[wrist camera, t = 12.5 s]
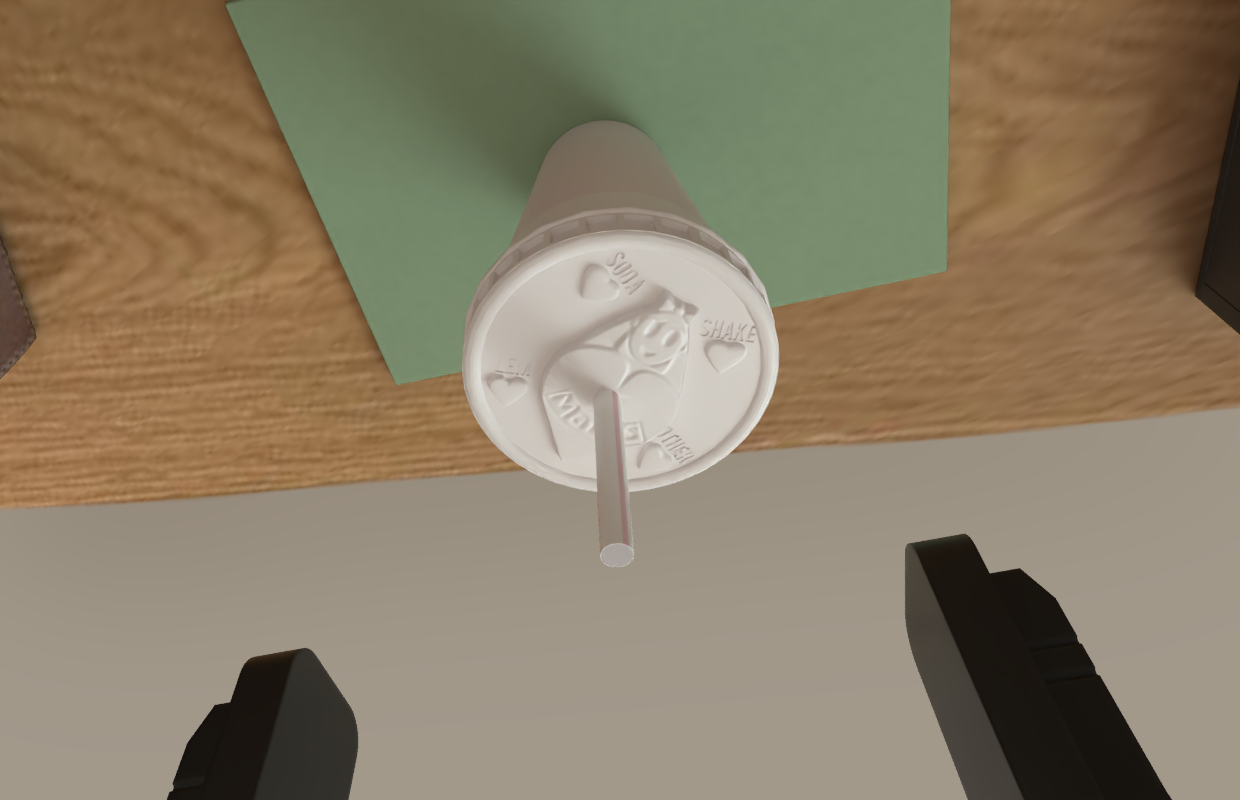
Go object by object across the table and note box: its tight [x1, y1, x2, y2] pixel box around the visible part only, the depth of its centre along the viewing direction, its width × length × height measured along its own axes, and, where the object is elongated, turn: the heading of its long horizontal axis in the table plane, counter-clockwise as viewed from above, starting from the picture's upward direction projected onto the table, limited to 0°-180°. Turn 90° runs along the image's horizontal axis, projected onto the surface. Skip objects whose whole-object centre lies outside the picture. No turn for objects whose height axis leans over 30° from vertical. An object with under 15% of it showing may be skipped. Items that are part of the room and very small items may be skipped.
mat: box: [225, 0, 950, 385], centre depth 25 cm, size 12×18×1 cm, turn 102°
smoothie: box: [462, 120, 779, 567], centre depth 20 cm, size 6×6×14 cm
